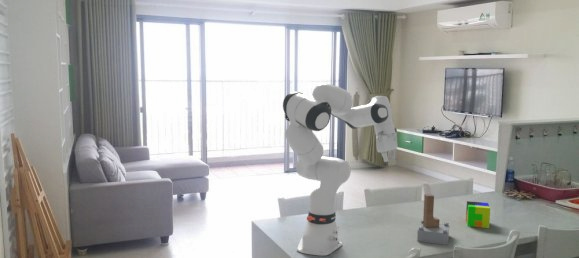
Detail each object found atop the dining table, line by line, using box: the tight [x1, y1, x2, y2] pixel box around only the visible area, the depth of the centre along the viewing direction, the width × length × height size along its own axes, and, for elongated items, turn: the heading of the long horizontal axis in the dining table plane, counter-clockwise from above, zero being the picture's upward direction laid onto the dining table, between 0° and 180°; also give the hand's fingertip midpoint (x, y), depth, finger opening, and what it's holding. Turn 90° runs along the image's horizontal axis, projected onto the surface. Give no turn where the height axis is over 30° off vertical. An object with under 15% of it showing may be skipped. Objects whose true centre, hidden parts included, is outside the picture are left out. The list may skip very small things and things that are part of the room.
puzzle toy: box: [465, 200, 491, 229], centre depth 241 cm, size 10×10×10 cm
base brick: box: [416, 219, 450, 246], centre depth 220 cm, size 13×13×6 cm
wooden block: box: [422, 193, 440, 228], centre depth 221 cm, size 7×3×15 cm, turn 101°
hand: (389, 160), depth 221 cm, fingers open, 8 cm apart
